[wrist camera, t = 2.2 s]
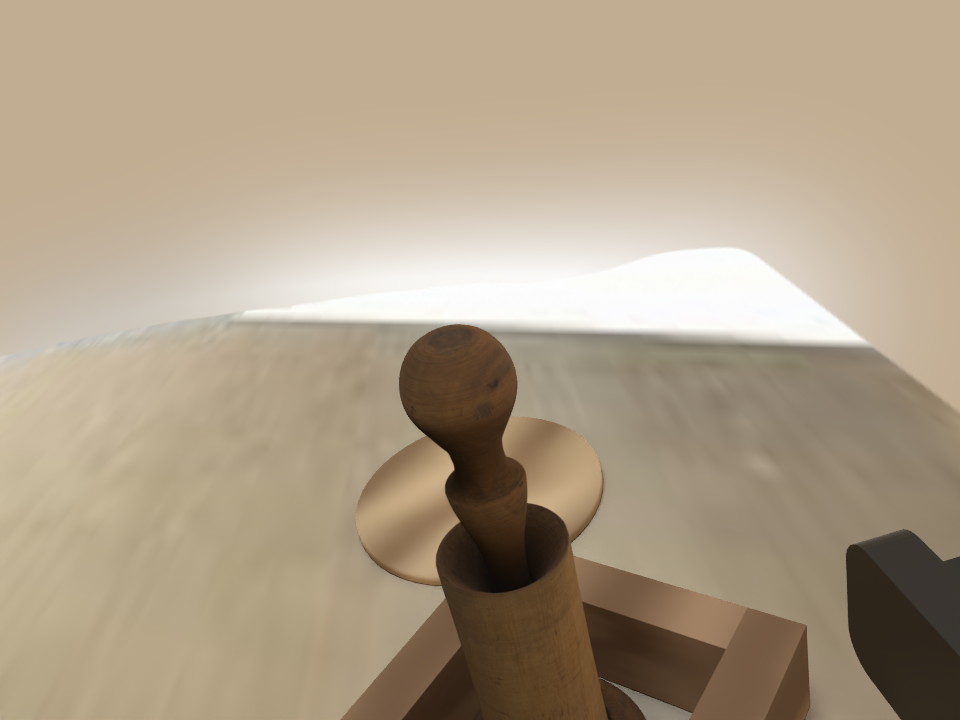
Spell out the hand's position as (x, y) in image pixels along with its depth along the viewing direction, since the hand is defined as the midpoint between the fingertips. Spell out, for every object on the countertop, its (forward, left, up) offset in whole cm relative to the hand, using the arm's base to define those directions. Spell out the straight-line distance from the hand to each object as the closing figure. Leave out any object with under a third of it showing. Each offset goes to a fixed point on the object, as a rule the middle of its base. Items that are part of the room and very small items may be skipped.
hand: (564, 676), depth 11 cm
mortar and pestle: (-8, +8, -18) cm, 22 cm away
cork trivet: (-20, +20, -18) cm, 34 cm away
